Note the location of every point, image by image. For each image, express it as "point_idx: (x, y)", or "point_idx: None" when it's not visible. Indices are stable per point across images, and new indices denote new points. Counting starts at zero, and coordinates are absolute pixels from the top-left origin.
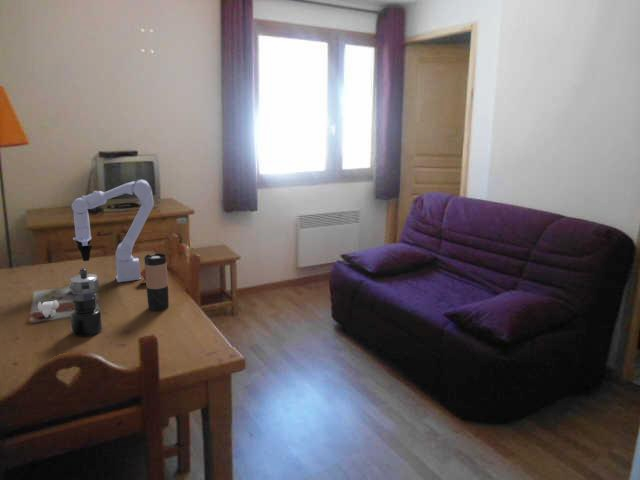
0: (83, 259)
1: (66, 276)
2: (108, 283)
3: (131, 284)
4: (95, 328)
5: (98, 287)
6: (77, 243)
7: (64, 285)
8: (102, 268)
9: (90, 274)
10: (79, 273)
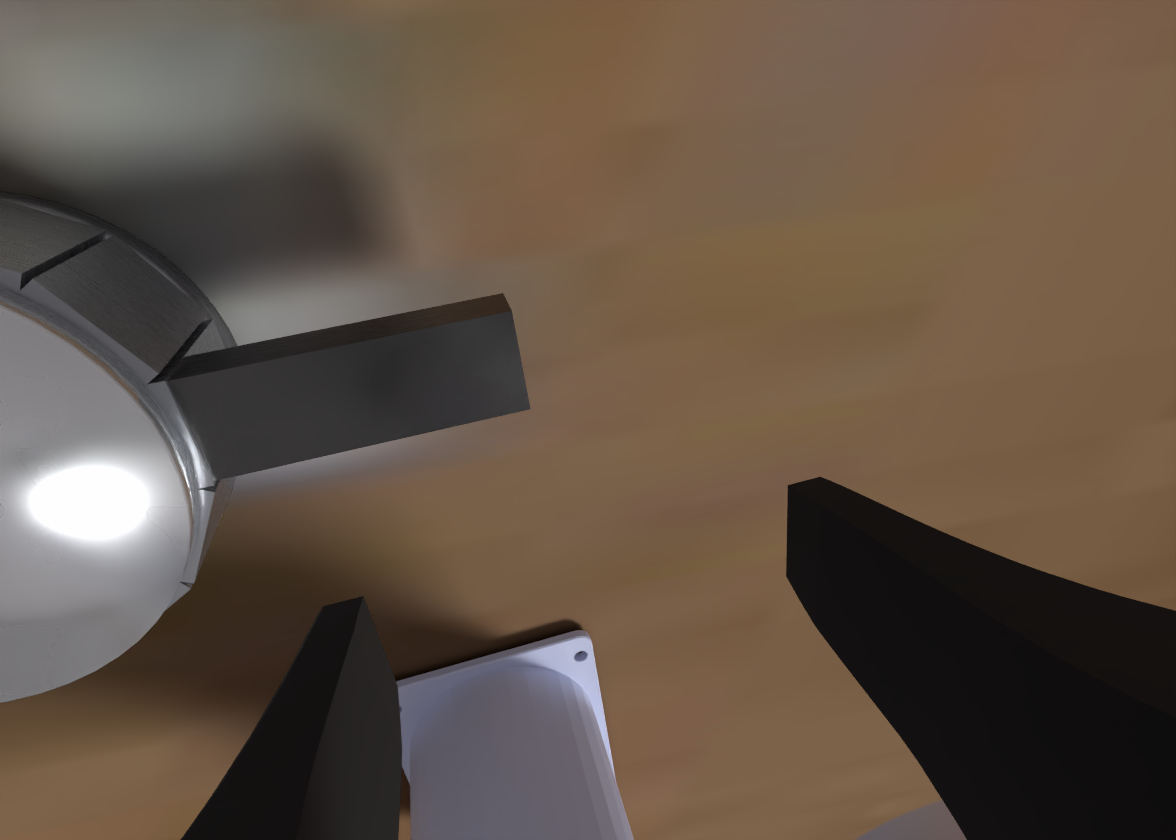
0: (303, 648)
1: (883, 4)
2: (375, 598)
3: None
4: None
5: None
6: (1164, 718)
7: (408, 13)
8: (980, 436)
9: (135, 584)
10: (393, 338)
